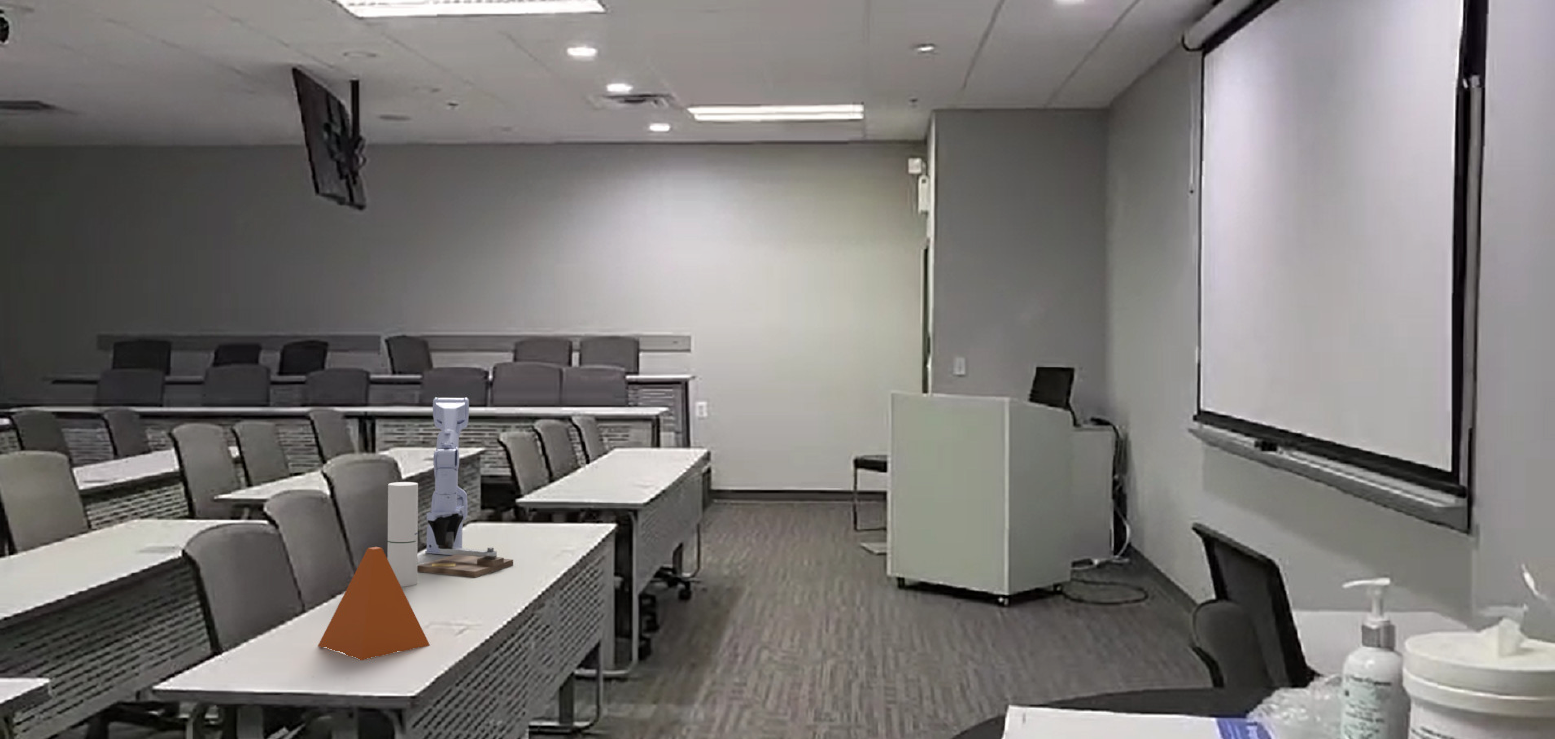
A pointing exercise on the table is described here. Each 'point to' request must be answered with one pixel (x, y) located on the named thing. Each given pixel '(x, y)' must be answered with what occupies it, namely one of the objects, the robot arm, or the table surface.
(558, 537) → the table surface
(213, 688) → the table surface
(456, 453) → the robot arm
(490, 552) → the lever
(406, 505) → the cylindrical container
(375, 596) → the pyramid
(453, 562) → the cracker board
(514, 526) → the table surface
